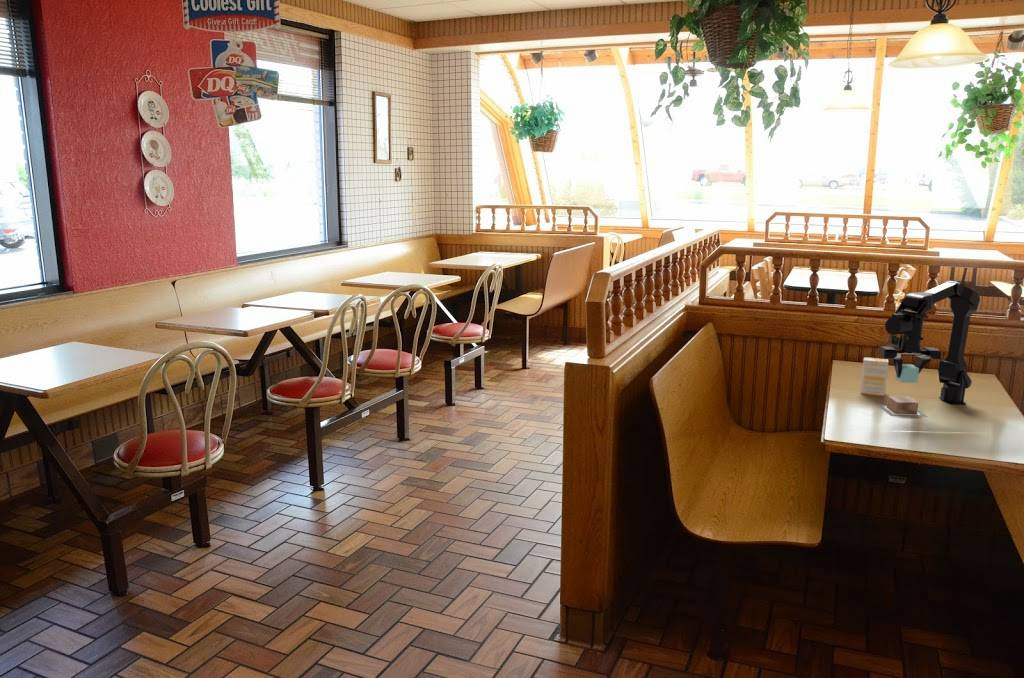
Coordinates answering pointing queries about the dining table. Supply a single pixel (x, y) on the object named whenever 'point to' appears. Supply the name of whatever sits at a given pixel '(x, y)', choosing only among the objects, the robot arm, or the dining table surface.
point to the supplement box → (874, 376)
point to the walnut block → (902, 405)
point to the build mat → (891, 413)
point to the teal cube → (908, 374)
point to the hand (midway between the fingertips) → (906, 377)
